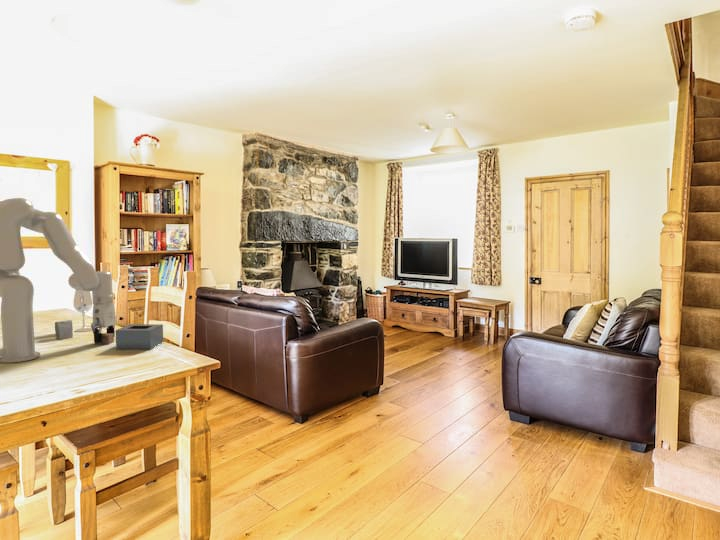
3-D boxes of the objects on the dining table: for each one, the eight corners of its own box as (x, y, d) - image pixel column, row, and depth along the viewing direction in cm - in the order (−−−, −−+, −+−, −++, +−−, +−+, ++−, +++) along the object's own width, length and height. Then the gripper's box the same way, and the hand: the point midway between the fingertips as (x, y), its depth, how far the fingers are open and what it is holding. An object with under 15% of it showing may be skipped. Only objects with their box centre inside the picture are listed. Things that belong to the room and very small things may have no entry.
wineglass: (78, 332, 214) (76, 290, 213) (71, 330, 219) (70, 289, 217) (96, 329, 220) (94, 289, 219) (89, 327, 225) (87, 288, 223)
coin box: (116, 349, 184) (115, 330, 183) (130, 342, 196) (130, 324, 195) (150, 349, 184) (150, 330, 183) (163, 342, 196) (162, 324, 195)
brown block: (94, 344, 192) (94, 335, 192) (99, 342, 196) (99, 333, 196) (109, 344, 193) (108, 335, 192) (113, 342, 197) (113, 333, 196)
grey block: (79, 334, 208) (75, 318, 205) (62, 342, 200) (58, 326, 197) (66, 332, 209) (62, 316, 207) (49, 340, 201) (45, 324, 199)
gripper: (100, 303, 184) (102, 344, 186) (122, 297, 202) (123, 335, 203) (81, 303, 184) (83, 344, 186) (105, 297, 202) (107, 335, 203)
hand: (104, 339), depth 194 cm, fingers open, 9 cm apart
